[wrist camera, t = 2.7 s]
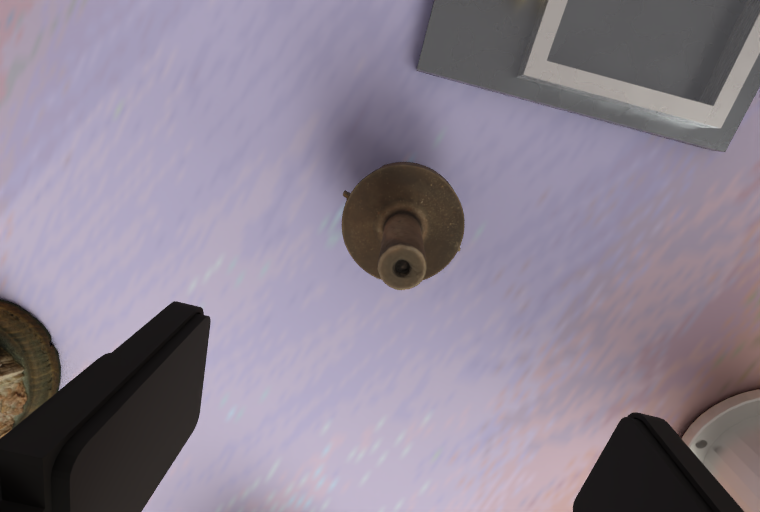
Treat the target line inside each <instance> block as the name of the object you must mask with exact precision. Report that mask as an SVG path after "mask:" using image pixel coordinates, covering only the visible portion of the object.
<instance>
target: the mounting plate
mask: <svg viewBox="0 0 760 512" xmlns="http://www.w3.org/2000/svg"><path fill="white" fill-rule="evenodd" d="M417 71H419V72H423V73H426V74H430V75H434V76H438V77H441V78H445V79H449V80H452V81H456V82H460V83H463V84H467V85H471V86H475V87H478V88H482V89H486V90H489V91H493V92H497V93H501V94H504V95H508V96H512V97H515V98H519V99H523V100H527V101H530V102H534V103H538V104H541V105H545V106H549V107H553V108H556V109H560V110H564V111H567V112H571V113H575V114H579V115H582V116H586V117H590V118H593V119H597V120H601V121H605V122H608V123H612V124H616V125H619V126H623V127H627V128H631V129H634V130H638V131H642V132H645V133H649V134H653V135H657V136H660V137H664V138H668V139H671V140H675V141H679V142H683V143H686V144H690V145H694V146H697V147H701V148H705V149H709V150H712V151H719V152H725V151H726V149H727V147H728V146H729V144H730V142H731V140H732V138H733V136H734V134H735V132H736V130H737V128H738V127H739V125H740V123H741V121H742V119H743V117H744V115H745V113H746V111H747V110H748V108H749V106H750V104H751V102H752V100H753V98H754V96H755V94H756V92H757V91H758V89H759V87H760V0H434V4H433V8H432V12H431V16H430V20H429V24H428V28H427V32H426V35H425V39H424V43H423V47H422V51H421V55H420V59H419V63H418V67H417Z"/></svg>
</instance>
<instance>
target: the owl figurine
mask: <svg viewBox="0 0 760 512" xmlns="http://www.w3.org/2000/svg"><path fill="white" fill-rule="evenodd" d="M50 341H51V337H50V334H49V332H48V331H47V330H46V328H45V327H44V326H43V325H42V324H41V323H40V322H39V321H38V320H36V319H35V318H34V317H33V316H32V315H31V314H30V313H28V312H27V311H25V310H23V309H22V308H20V307H19V306H17V305H15V304H13V303H11V302H8V301H4V300H1V299H0V439H1V438H2V437H3V436H4V435H6V434H7V433H8V432H9V431H10V430H12V429H13V428H14V427H15V426H17V425H18V424H19V423H20V422H21V421H23V420H24V419H25V418H26V417H28V416H29V415H30V414H31V413H32V412H34V411H35V410H36V409H37V408H39V407H40V406H41V405H42V404H43V403H45V402H46V401H47V400H48V399H50V398H51V397H52V396H53V395H54V394H56V393H57V392H58V390H59V385H60V379H61V378H60V376H61V366H60V361H59V356H58V352H57V350H56V349H55V347H54V346H53V345H51V346H50V343H49V342H50Z"/></svg>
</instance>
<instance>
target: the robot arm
mask: <svg viewBox="0 0 760 512" xmlns="http://www.w3.org/2000/svg"><path fill="white" fill-rule="evenodd" d="M209 330H210V317H209V316H205V315H204V312H203V309H202V308H201V307H197V306H193V305H189V304H185V303H181V302H172V303H171V304H170V305H168V306H167V307H166V308H165V309H164V310H162V311H161V312H160V313H159V314H158V315H156V316H155V317H154V318H153V319H152V320H150V321H149V322H148V323H147V324H146V325H144V326H143V327H142V328H141V329H140V330H138V331H137V332H136V333H135V334H134V335H132V336H131V337H130V338H129V339H128V340H126V341H125V342H124V343H123V344H122V345H120V346H119V347H118V348H117V349H116V350H114V351H113V352H112V353H108V354H105V355H103V356H102V357H100V358H98V359H97V360H96V361H95V362H94V363H92V364H91V365H90V366H89V367H87V368H86V369H85V370H84V371H83V372H81V373H80V374H79V375H78V376H76V377H75V378H74V379H73V380H72V381H70V382H69V383H68V384H67V385H65V386H64V387H63V388H62V389H61V390H59V391H58V392H57V393H56V394H54V395H53V396H52V397H51V398H50V399H48V400H47V401H46V402H45V403H43V404H42V405H41V406H40V407H39V408H37V409H36V410H35V411H34V412H32V413H31V414H30V415H29V416H28V417H26V418H25V419H24V420H23V421H21V422H20V423H19V424H18V425H17V426H15V427H14V428H13V429H12V430H10V431H9V432H8V433H7V434H6V435H4V436H3V437H2V438H1V439H0V512H141V511H142V510H143V508H144V507H145V505H146V504H147V502H148V500H149V499H150V497H151V496H152V494H153V493H154V491H155V490H156V488H157V487H158V485H159V483H160V482H161V480H162V479H163V477H164V476H165V474H166V473H167V471H168V470H169V468H170V466H171V465H172V463H173V462H174V460H175V459H176V457H177V456H178V454H179V453H180V451H181V449H182V448H183V446H184V445H185V443H186V442H187V440H188V439H189V437H190V435H191V434H192V432H193V431H194V429H195V427H196V424H197V422H198V418H199V414H200V406H201V398H202V389H203V381H204V372H205V364H206V355H207V347H208V338H209ZM573 512H760V389H758V390H753V391H748V392H744V393H741V394H738V395H735V396H733V397H730V398H727V399H726V400H724V401H722V402H720V403H718V404H716V405H714V406H713V407H711V408H710V409H708V410H707V411H706V412H704V413H703V414H701V415H700V416H699V417H698V418H697V419H696V420H695V421H694V422H693V423H692V424H691V425H690V427H689V428H688V430H687V431H686V432H685V434H684V435H683V437H682V439H681V438H680V437H679V435H678V434H677V433H676V432H675V431H674V430H673V429H672V427H671V426H670V425H669V424H668V423H667V422H666V421H665V420H663V419H661V418H658V417H653V416H649V415H645V414H641V413H631V414H630V415H628V417H624V418H622V419H621V421H620V422H619V424H618V425H617V427H616V429H615V431H614V432H613V434H612V436H611V438H610V439H609V441H608V443H607V445H606V446H605V448H604V450H603V452H602V453H601V455H600V457H599V459H598V460H597V462H596V464H595V466H594V467H593V469H592V471H591V473H590V474H589V476H588V478H587V479H586V481H585V483H584V485H583V486H582V488H581V490H580V492H579V493H578V495H577V497H576V499H575V501H574V504H573Z"/></svg>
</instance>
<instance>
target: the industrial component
mask: <svg viewBox="0 0 760 512" xmlns="http://www.w3.org/2000/svg"><path fill="white" fill-rule="evenodd" d="M343 196H344V197H346V198H347V201H346V203H345V207H344V211H343V216H342V234H343V239H344V242H345V245H346V247H347V249H348V251H349V253H350V255H351V256H352V258H353V259H354V261H355V262H356V263H357V264H358V265H359V266H360V267H361V268H362V269H363V270H365V271H366V272H367V273H369V274H371V275H372V276H374V277H376V278H378V279H381V280H383V281H384V283H385V284H387V285H388V286H389V287H392V288H394V289H397V290H405V289H410V288H413V287H415V286H417V285H418V284H419V283H420V282H421V281H422V280H425V279H427V278H430V277H432V276H433V275H435V274H437V273H438V272H440V271H441V270H442V269H444V268H445V267H446V266H447V265H448V264H449V263H450V262H451V260H452V259H453V258H454V256H455V255H456V253H457V251H460V245H461V242H462V239H463V234H464V214H463V209H462V206H461V203H460V201H459V199H458V197H457V195H456V193H455V192H454V190H453V188H452V187H451V185H450V184H449V183H448V182H447V181H446V180H445V179H444V178H443V177H442V176H441V175H440V174H438V173H437V172H436V171H434V170H432V169H430V168H429V167H426V166H424V165H420V164H417V163H411V162H396V163H390V164H387V165H384V166H382V167H381V168H379V169H377V170H375V171H374V172H372V173H371V174H369V175H368V176H366V177H365V178H364V179H363V180H362V181H360V182H359V183H358V185H357V186H356V187H355V188H354V189H353V191H352V192H351V193H349V192H347V191H344V192H343Z"/></svg>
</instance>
